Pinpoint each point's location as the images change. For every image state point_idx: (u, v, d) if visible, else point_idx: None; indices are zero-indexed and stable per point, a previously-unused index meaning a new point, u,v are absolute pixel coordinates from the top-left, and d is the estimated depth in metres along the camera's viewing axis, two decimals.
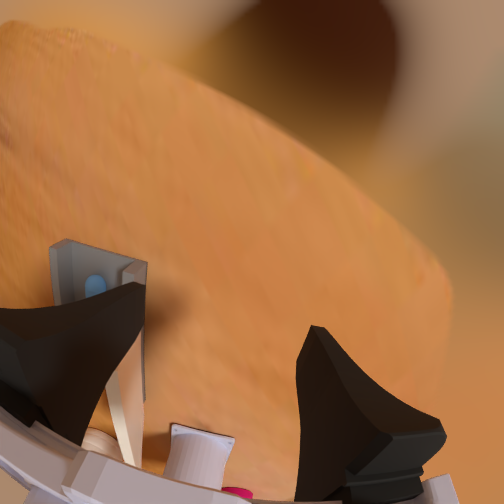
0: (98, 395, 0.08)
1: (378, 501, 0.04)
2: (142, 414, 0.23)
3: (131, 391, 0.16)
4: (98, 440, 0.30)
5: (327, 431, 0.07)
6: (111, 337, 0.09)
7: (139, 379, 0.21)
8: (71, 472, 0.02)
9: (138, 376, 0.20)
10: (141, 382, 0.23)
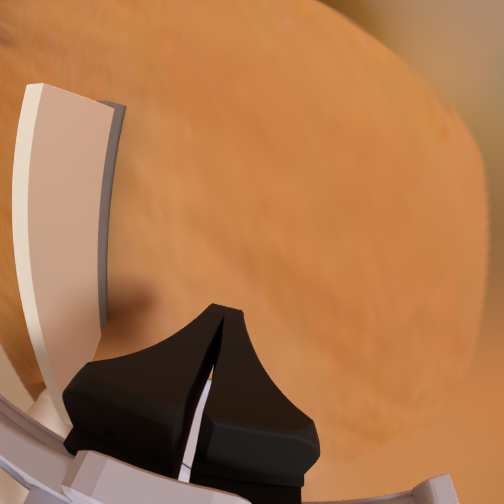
0: (190, 428, 0.08)
1: None
2: (95, 325, 0.18)
3: (62, 215, 0.10)
4: None
5: None
6: (206, 367, 0.09)
7: (90, 250, 0.15)
8: (71, 472, 0.02)
9: (88, 239, 0.15)
10: (96, 268, 0.17)
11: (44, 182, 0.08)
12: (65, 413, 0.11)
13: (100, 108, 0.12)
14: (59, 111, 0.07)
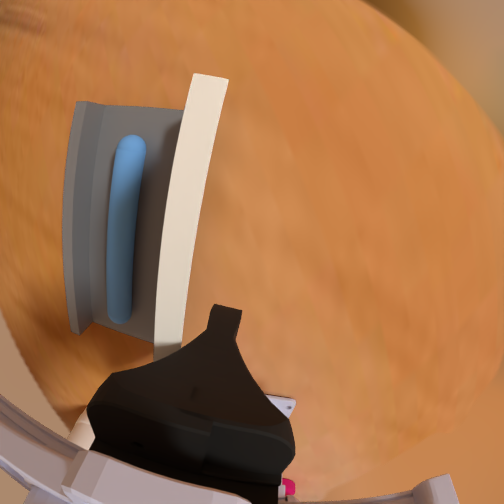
0: None
1: None
2: None
3: None
4: None
5: None
6: None
7: None
8: (71, 472, 0.02)
9: None
10: None
11: None
12: None
13: None
14: None
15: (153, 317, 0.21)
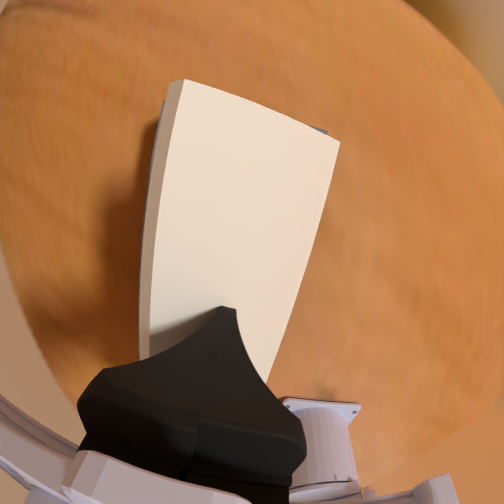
0: None
1: None
2: None
3: (231, 255, 0.10)
4: None
5: None
6: None
7: (278, 306, 0.14)
8: (71, 472, 0.02)
9: (277, 293, 0.14)
10: (283, 327, 0.16)
11: (195, 208, 0.08)
12: None
13: (312, 135, 0.11)
14: (225, 121, 0.08)
15: None
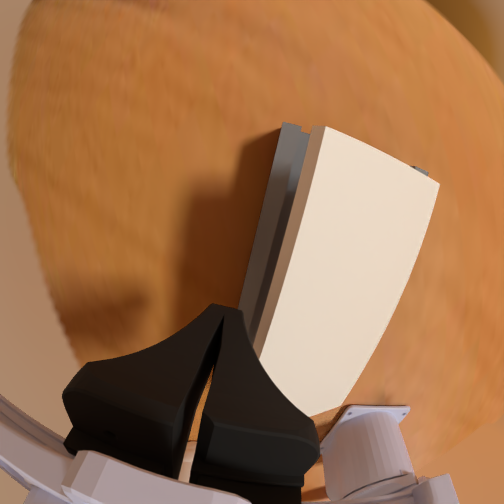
0: (190, 428, 0.08)
1: None
2: (339, 392, 0.17)
3: (346, 270, 0.12)
4: None
5: None
6: (206, 367, 0.09)
7: (375, 323, 0.15)
8: (71, 472, 0.02)
9: (376, 311, 0.14)
10: (374, 345, 0.16)
11: (326, 227, 0.10)
12: None
13: (418, 177, 0.12)
14: (353, 161, 0.10)
15: None
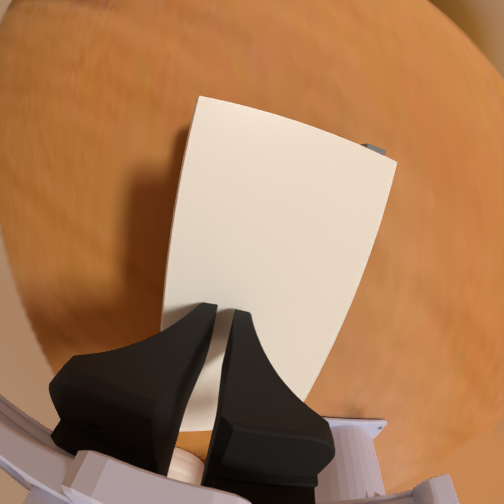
0: (180, 425, 0.08)
1: None
2: None
3: (253, 259, 0.11)
4: (173, 460, 0.23)
5: (216, 416, 0.06)
6: (195, 364, 0.09)
7: (317, 329, 0.13)
8: (71, 472, 0.02)
9: (315, 314, 0.13)
10: (324, 354, 0.14)
11: (212, 206, 0.09)
12: None
13: (356, 150, 0.10)
14: (242, 131, 0.09)
15: None
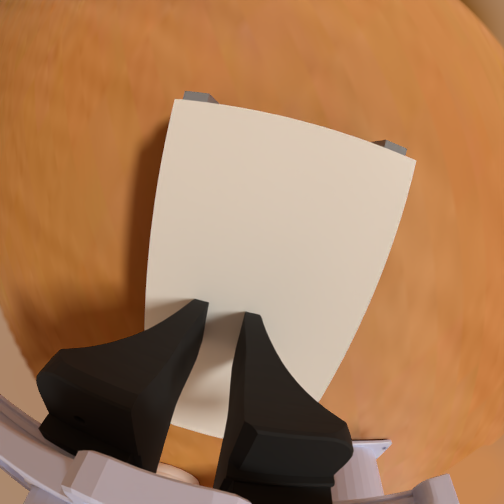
0: (169, 422, 0.08)
1: None
2: None
3: (228, 258, 0.10)
4: None
5: (231, 419, 0.06)
6: (184, 361, 0.09)
7: (309, 354, 0.11)
8: (71, 472, 0.02)
9: (306, 336, 0.11)
10: (321, 387, 0.12)
11: (185, 199, 0.10)
12: None
13: (351, 144, 0.09)
14: (213, 127, 0.09)
15: None
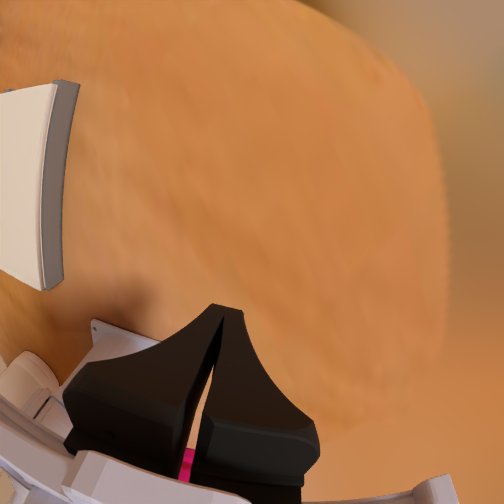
0: (190, 428, 0.08)
1: None
2: (29, 266, 0.18)
3: (2, 151, 0.15)
4: (27, 362, 0.25)
5: None
6: (206, 367, 0.09)
7: (24, 195, 0.16)
8: (71, 472, 0.02)
9: (21, 183, 0.16)
10: (32, 220, 0.17)
11: None
12: None
13: (31, 90, 0.13)
14: (3, 102, 0.14)
15: None
